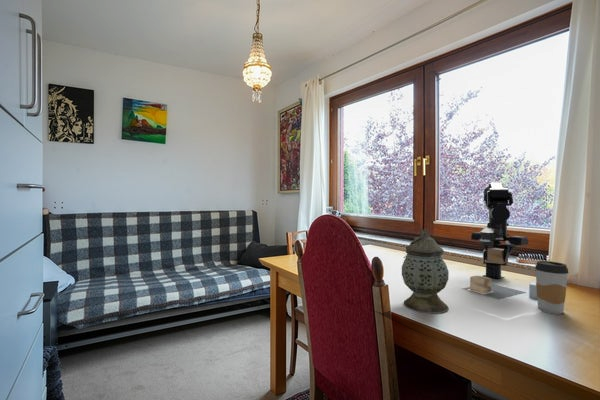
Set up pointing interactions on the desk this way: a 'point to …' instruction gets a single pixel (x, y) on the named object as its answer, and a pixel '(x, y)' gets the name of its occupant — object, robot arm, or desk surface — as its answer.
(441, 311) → the lantern
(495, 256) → the walnut block
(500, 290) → the build mat
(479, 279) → the oak block
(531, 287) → the block
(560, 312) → the coffee cup
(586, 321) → the desk surface
